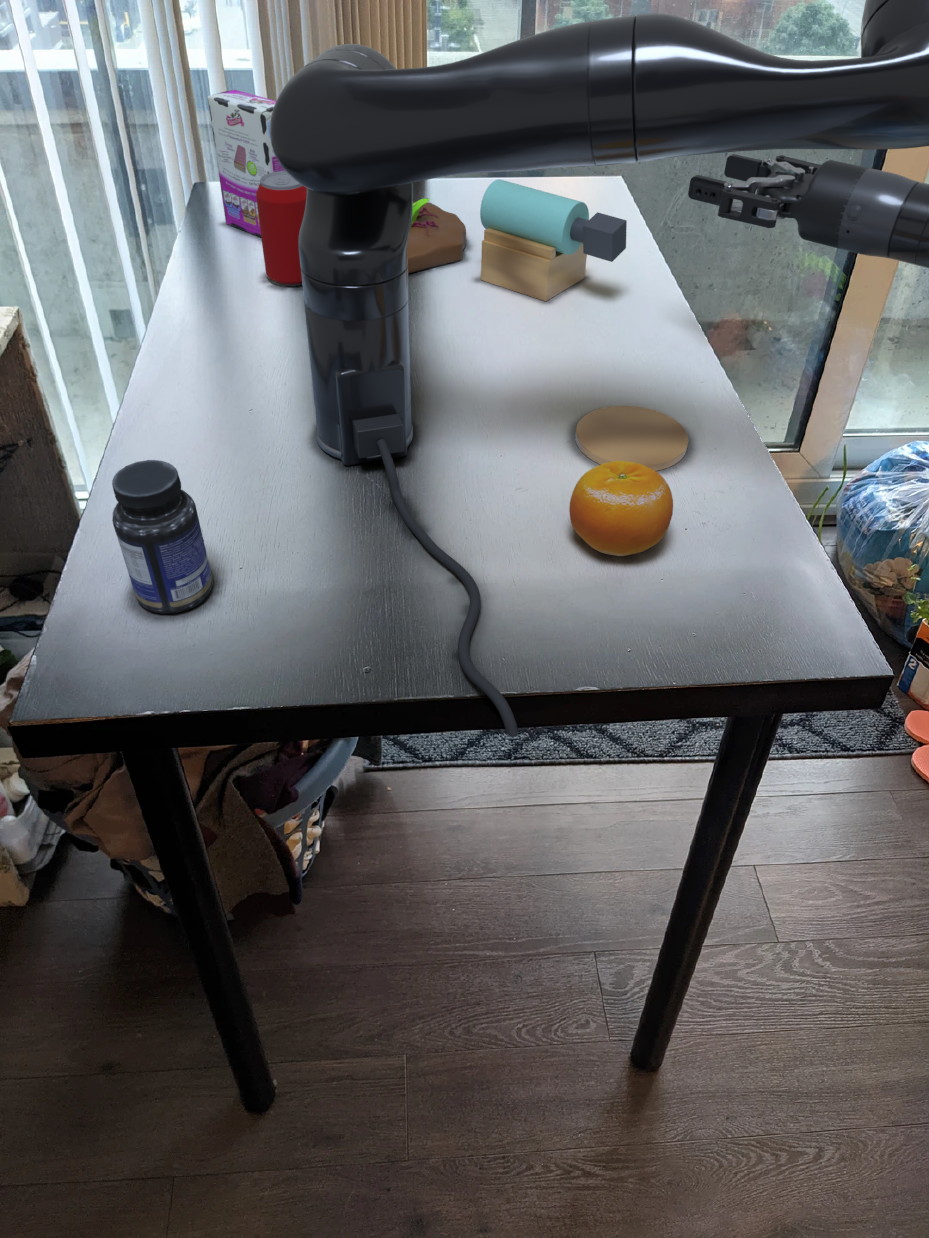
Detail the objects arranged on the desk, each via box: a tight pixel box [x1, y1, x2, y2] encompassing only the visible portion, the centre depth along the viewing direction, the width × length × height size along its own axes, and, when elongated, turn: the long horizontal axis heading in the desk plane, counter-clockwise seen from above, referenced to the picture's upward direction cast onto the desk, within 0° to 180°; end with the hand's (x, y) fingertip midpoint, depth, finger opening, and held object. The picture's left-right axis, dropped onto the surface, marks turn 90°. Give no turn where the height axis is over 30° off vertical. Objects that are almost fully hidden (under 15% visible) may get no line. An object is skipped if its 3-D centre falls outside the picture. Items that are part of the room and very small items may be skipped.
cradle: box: [480, 228, 588, 302], centre depth 119 cm, size 10×9×6 cm
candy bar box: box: [206, 89, 285, 238], centre depth 126 cm, size 11×5×16 cm, turn 49°
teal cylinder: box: [479, 178, 628, 263], centre depth 114 cm, size 18×6×6 cm, turn 53°
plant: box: [408, 197, 467, 274], centre depth 125 cm, size 20×20×11 cm
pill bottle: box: [111, 459, 214, 614], centre depth 73 cm, size 6×6×11 cm
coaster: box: [574, 404, 689, 472], centre depth 94 cm, size 11×11×1 cm
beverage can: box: [256, 171, 307, 287], centre depth 116 cm, size 7×7×12 cm
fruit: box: [568, 461, 674, 557], centre depth 80 cm, size 8×8×8 cm
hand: (709, 175), depth 101 cm, fingers open, 8 cm apart
